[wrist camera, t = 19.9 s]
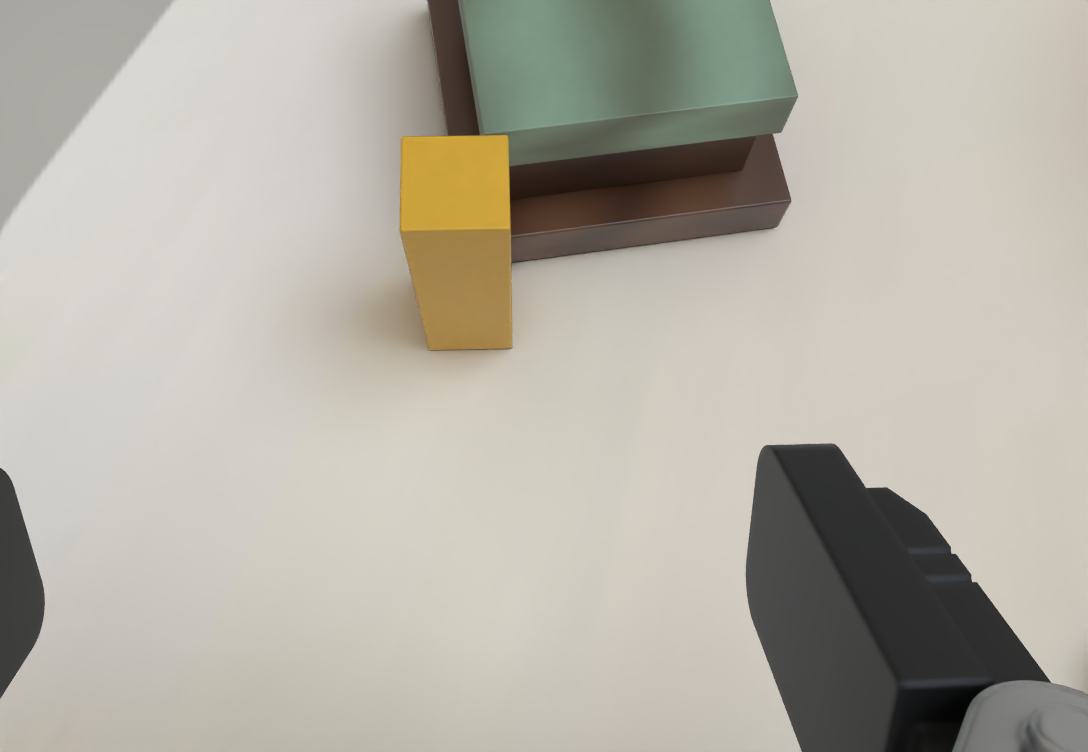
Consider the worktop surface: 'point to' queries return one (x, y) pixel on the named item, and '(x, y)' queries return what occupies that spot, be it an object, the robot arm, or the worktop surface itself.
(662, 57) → the two-tone stepped base
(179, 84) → the worktop surface
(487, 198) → the bar
